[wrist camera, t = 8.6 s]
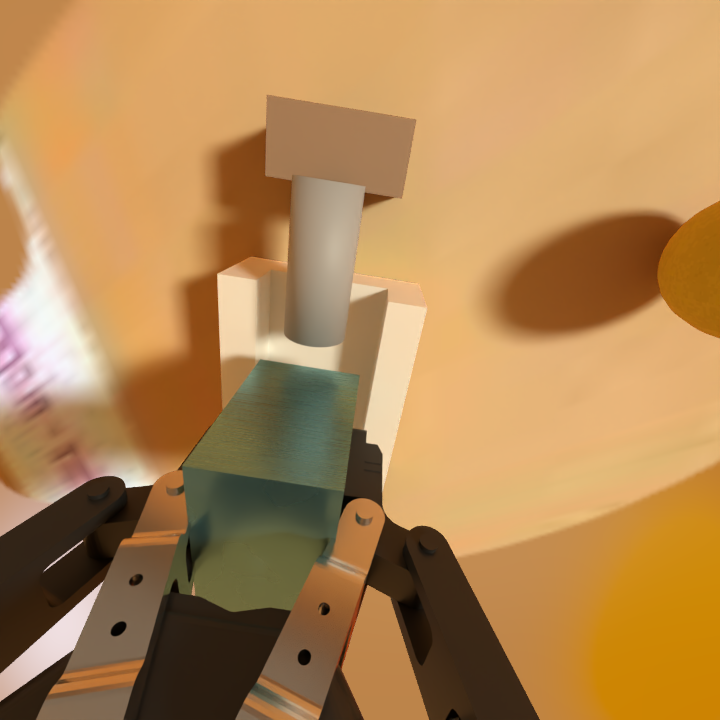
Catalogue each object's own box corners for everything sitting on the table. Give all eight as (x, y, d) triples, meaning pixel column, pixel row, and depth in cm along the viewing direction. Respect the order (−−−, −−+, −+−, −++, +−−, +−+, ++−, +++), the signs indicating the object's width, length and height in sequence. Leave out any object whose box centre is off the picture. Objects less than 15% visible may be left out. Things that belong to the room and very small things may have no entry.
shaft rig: (252, 108, 15) (148, 48, 8) (450, 141, 15) (501, 106, 8) (249, 497, 25) (202, 604, 19) (366, 515, 25) (360, 629, 19)
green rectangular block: (260, 359, 14) (182, 465, 9) (360, 375, 14) (344, 491, 9) (257, 471, 17) (196, 607, 11) (341, 484, 17) (320, 626, 11)
